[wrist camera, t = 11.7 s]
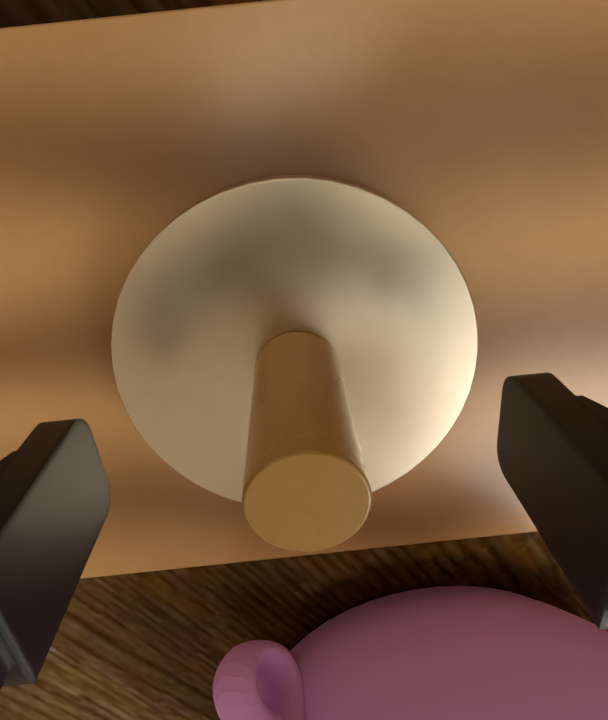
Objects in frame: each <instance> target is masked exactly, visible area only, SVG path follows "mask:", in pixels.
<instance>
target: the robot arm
mask: <svg viewBox="0 0 608 720" xmlns="http://www.w3.org/2000/svg"><path fill="white" fill-rule="evenodd" d="M497 455H498V461H499V465H500V468H501V471H502V473H503V475H504V477H505V479H506V480H507V482H508V484H509V485H510V487H511V488H512V490H513V492H514V493H515V495H516V496H517V498H518V500H519V501H520V503H521V504H522V506H523V508H524V509H525V511H526V513H527V514H528V516H529V517H530V519H531V521H532V522H533V524H534V525H535V527H536V529H537V530H538V532H539V534H540V535H541V537H542V538H543V540H544V542H545V543H546V545H547V546H548V548H549V550H550V551H551V553H552V555H553V556H554V558H555V559H556V561H557V563H558V564H559V566H560V567H561V569H562V571H563V572H564V574H565V575H566V577H567V579H568V580H569V582H570V584H571V585H572V587H573V588H574V590H575V592H576V593H577V595H578V596H579V598H580V600H581V601H582V603H583V605H584V606H585V608H586V609H587V611H588V613H589V614H590V616H591V617H592V619H593V621H594V622H595V624H596V626H597V627H598V629H599V630H600V629H608V408H607V407H605V406H603V405H601V404H599V403H597V402H595V401H593V400H591V399H589V398H587V397H585V396H583V395H579V396H575V395H574V394H573V393H572V392H571V391H570V390H569V389H568V388H567V387H566V386H565V385H564V384H563V383H562V382H561V381H560V380H559V379H558V378H556V377H555V376H554V375H553V374H552V373H548V372H546V373H536V374H526V375H516V376H509V377H507V378H506V379H505V381H504V383H503V388H502V397H501V407H500V417H499V427H498V437H497ZM109 507H110V486H109V481H108V478H107V475H106V472H105V469H104V466H103V463H102V461H101V458H100V455H99V452H98V449H97V446H96V443H95V440H94V437H93V434H92V431H91V428H90V426H89V424H88V423H87V422H86V421H85V420H84V419H70V420H60V421H50V422H42V423H39V424H38V425H37V426H36V427H35V428H34V429H33V431H32V432H31V433H30V435H29V436H28V437H27V438H26V440H25V441H24V442H23V443H22V445H21V446H20V447H19V448H18V450H17V451H13V452H11V453H10V454H8V455H7V456H6V457H4V458H3V459H2V460H0V689H1V687H2V686H11V685H21V684H31V683H35V681H36V679H37V677H38V674H39V672H40V670H41V667H42V665H43V663H44V660H45V658H46V656H47V653H48V651H49V649H50V647H51V644H52V642H53V640H54V637H55V635H56V633H57V630H58V628H59V626H60V623H61V621H62V619H63V617H64V614H65V612H66V610H67V607H68V605H69V603H70V600H71V598H72V596H73V593H74V591H75V589H76V587H77V584H78V582H79V580H80V577H81V575H82V573H83V570H84V568H85V566H86V563H87V561H88V559H89V557H90V554H91V552H92V550H93V547H94V545H95V543H96V540H97V538H98V536H99V533H100V531H101V529H102V527H103V524H104V522H105V520H106V517H107V515H108V512H109Z"/></svg>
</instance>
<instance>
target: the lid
mask: <svg viewBox="0 0 608 720" xmlns="http://www.w3.org/2000/svg"><path fill="white" fill-rule="evenodd" d="M111 353H112V367H113V371H114V376H115V381H116V385H117V389H118V392H119V394H120V397H121V400H122V402H123V405H124V408H125V410H126V412H127V414H128V415H129V417H130V419H131V421H132V423H133V425H134V427H135V428H136V429H137V431H138V432H139V434H140V435H141V436H142V438H143V439H144V440H145V442H146V443H147V444H148V446H149V447H150V448H151V449H152V450H153V451H154V452H155V453H156V454H157V455H158V456H159V457H160V458H161V459H162V460H163V461H164V462H165V463H166V464H168V465H169V466H170V467H171V468H172V469H174V470H175V471H176V472H177V473H179V474H180V475H182V476H183V477H185V478H186V479H188V480H190V481H191V482H193V483H194V484H196V485H198V486H200V487H202V488H204V489H206V490H208V491H210V492H212V493H214V494H217V495H220V496H222V497H225V498H228V499H230V500H233V501H237V502H241V503H242V510H243V513H244V516H245V518H246V521H247V523H248V524H249V526H250V527H251V529H252V530H253V531H254V532H255V533H256V534H257V535H258V536H259V537H260V538H261V539H263V540H264V541H266V542H268V543H269V544H271V545H274V546H276V547H279V548H282V549H286V550H290V551H297V552H311V551H319V550H323V549H327V548H330V547H333V546H336V545H338V544H340V543H342V542H344V541H346V540H347V539H349V538H350V537H351V536H353V535H354V534H355V533H356V532H357V531H358V530H359V529H360V528H361V527H362V525H363V524H364V522H365V521H366V519H367V517H368V514H369V512H370V509H371V504H372V493H373V492H375V491H377V490H379V489H381V488H383V487H385V486H387V485H389V484H391V483H392V482H394V481H396V480H397V479H399V478H400V477H402V476H403V475H405V474H406V473H408V472H409V471H410V470H412V469H413V468H414V467H415V466H417V465H418V464H419V463H420V462H422V461H423V460H424V459H425V458H426V457H427V456H428V455H429V454H430V453H431V452H432V451H433V450H434V449H435V448H436V447H437V446H438V445H439V443H440V442H441V441H442V440H443V438H444V437H445V436H446V434H447V433H448V432H449V430H450V429H451V428H452V426H453V424H454V423H455V421H456V419H457V417H458V416H459V414H460V412H461V411H462V408H463V406H464V404H465V401H466V399H467V397H468V394H469V392H470V388H471V385H472V381H473V378H474V374H475V369H476V362H477V354H478V326H477V319H476V313H475V307H474V303H473V300H472V297H471V294H470V290H469V287H468V284H467V282H466V280H465V278H464V276H463V274H462V272H461V270H460V268H459V266H458V264H457V262H456V261H455V259H454V258H453V257H452V255H451V254H450V252H449V251H448V249H447V248H446V246H445V245H444V244H443V243H442V241H441V240H440V239H439V238H438V237H437V236H436V235H435V234H434V233H433V232H432V231H431V230H430V229H429V227H428V226H427V225H425V224H424V223H423V222H422V221H420V220H419V219H418V218H417V217H415V216H414V215H413V214H411V213H410V212H409V211H408V210H406V209H405V208H404V207H402V206H400V205H399V204H397V203H395V202H394V201H392V200H390V199H388V198H387V197H385V196H383V195H382V194H380V193H377V192H375V191H372V190H370V189H368V188H365V187H363V186H360V185H358V184H355V183H351V182H347V181H343V180H339V179H335V178H331V177H322V176H312V175H276V176H270V177H265V178H259V179H253V180H249V181H245V182H242V183H239V184H236V185H233V186H230V187H227V188H224V189H222V190H220V191H218V192H216V193H214V194H212V195H210V196H208V197H206V198H203V199H201V200H200V201H198V202H197V203H195V204H194V205H192V206H191V207H189V208H188V209H186V210H185V211H183V212H182V213H180V214H179V215H178V216H177V217H176V218H175V219H173V220H172V221H171V222H170V223H169V224H168V225H167V226H166V227H165V228H164V229H163V230H162V231H160V232H159V233H158V234H157V235H156V236H155V237H154V239H153V240H152V241H151V242H150V243H149V245H148V246H147V247H146V248H145V250H144V251H143V252H142V253H141V255H140V256H139V257H138V259H137V261H136V263H135V264H134V266H133V268H132V269H131V271H130V273H129V274H128V276H127V278H126V281H125V283H124V286H123V288H122V291H121V293H120V296H119V298H118V301H117V306H116V310H115V314H114V319H113V324H112V337H111Z"/></svg>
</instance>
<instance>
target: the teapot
mask: <svg viewBox="0 0 608 720" xmlns="http://www.w3.org/2000/svg"><path fill="white" fill-rule="evenodd" d="M213 700H214V704H215V708H216V712H217V714H218V716H219V718H220V720H608V632H607V631H606V630H604V629H600V630H599V629H598V627H597V626H596V624H593V623H591V622H589V621H587V620H585V619H583V618H580V617H578V616H576V615H573V614H571V613H569V612H566V611H564V610H562V609H559V608H557V607H554V606H552V605H549V604H547V603H544V602H541V601H538V600H534V599H531V598H529V597H526V596H523V595H519V594H516V593H512V592H509V591H505V590H499V589H493V588H487V587H474V586H438V587H430V588H422V589H414V590H410V591H405V592H400V593H395V594H391V595H388V596H385V597H381V598H378V599H375V600H372V601H369V602H366V603H364V604H361V605H359V606H356V607H354V608H352V609H349V610H347V611H345V612H343V613H341V614H340V615H338V616H336V617H334V618H332V619H330V620H328V621H327V622H325V623H324V624H322V625H321V626H319V627H318V628H317V629H315V630H314V631H312V632H311V633H309V634H308V635H307V636H306V637H305V638H304V639H303V640H301V641H300V642H299V643H298V644H297V645H296V646H295V647H294V648H293V649H292V650H291V651H289V650H288V649H287V648H286V647H284V646H282V645H281V644H279V643H276V642H274V641H270V640H252V641H247V642H244V643H241V644H239V645H236V646H234V647H233V648H232V649H231V650H230V651H229V652H228V653H227V654H226V656H225V657H224V658H223V660H222V661H221V663H220V664H219V666H218V668H217V671H216V674H215V677H214V680H213Z"/></svg>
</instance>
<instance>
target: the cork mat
mask: <svg viewBox="0 0 608 720" xmlns="http://www.w3.org/2000/svg"><path fill="white" fill-rule="evenodd" d="M276 175H312V176H322V177H331V178H335V179H339V180H343V181H347V182H351V183H355V184H358V185H360V186H363V187H365V188H368V189H370V190H372V191H375V192H377V193H380V194H382V195H383V196H385V197H387V198H388V199H390V200H392V201H394V202H395V203H397V204H399V205H400V206H402V207H404V208H405V209H406V210H408V211H409V212H410V213H411V214H413V215H414V216H415V217H417V218H418V219H419V220H420V221H422V222H423V223H424V224H425V225H427V226H428V227H429V229H430V230H431V231H432V232H433V233H434V234H435V235H436V236H437V237H438V238H439V239H440V240H441V241H442V243H443V244H444V245H445V246H446V248H447V249H448V251H449V252H450V254H451V255H452V257H453V258H454V259H455V261H456V262H457V264H458V266H459V268H460V270H461V272H462V274H463V276H464V278H465V280H466V282H467V284H468V287H469V290H470V294H471V297H472V300H473V303H474V307H475V313H476V319H477V326H478V354H477V362H476V369H475V374H474V378H473V381H472V385H471V388H470V392H469V394H468V397H467V399H466V401H465V404H464V406H463V408H462V411H461V412H460V414H459V416H458V417H457V419H456V421H455V423H454V424H453V426H452V428H451V429H450V430H449V432H448V433H447V434H446V436H445V437H444V438H443V440H442V441H441V442H440V443H439V445H438V446H437V447H436V448H435V449H434V450H433V451H432V452H431V453H430V454H429V455H428V456H427V457H426V458H425V459H424V460H423V461H422V462H420V463H419V464H418V465H417V466H415V467H414V468H413V469H412V470H410V471H409V472H408V473H406V474H405V475H403V476H402V477H400V478H399V479H397V480H396V481H394V482H392V483H391V484H389V485H387V486H385V487H383V488H381V489H379V490H377V491H375V492H373V493H372V504H371V509H370V512H369V514H368V517H367V519H366V521H365V522H364V524H363V525H362V527H361V528H360V529H359V530H358V531H357V532H356V533H355V534H354V535H353V536H351V537H350V538H349V539H347V540H346V541H344V542H342V543H340V544H338V545H336V546H333V547H330V548H327V549H323V550H319V551H311V552H297V551H290V550H286V549H282V548H279V547H276V546H274V545H271V544H269V543H268V542H266V541H264V540H263V539H261V538H260V537H259V536H258V535H257V534H256V533H255V532H254V531H253V530H252V529H251V527H250V526H249V524H248V523H247V521H246V518H245V516H244V513H243V510H242V503H241V502H237V501H233V500H230V499H228V498H225V497H222V496H220V495H217V494H214V493H212V492H210V491H208V490H206V489H204V488H202V487H200V486H198V485H196V484H194V483H193V482H191V481H190V480H188V479H186V478H185V477H183V476H182V475H180V474H179V473H177V472H176V471H175V470H174V469H172V468H171V467H170V466H169V465H168V464H166V463H165V462H164V461H163V460H162V459H161V458H160V457H159V456H158V455H157V454H156V453H155V452H154V451H153V450H152V449H151V448H150V447H149V446H148V444H147V443H146V442H145V440H144V439H143V438H142V436H141V435H140V434H139V432H138V431H137V429H136V428H135V427H134V425H133V423H132V421H131V419H130V417H129V415H128V414H127V412H126V410H125V408H124V405H123V402H122V400H121V397H120V394H119V392H118V389H117V385H116V381H115V376H114V371H113V367H112V353H111V337H112V324H113V319H114V314H115V310H116V306H117V301H118V298H119V296H120V293H121V291H122V288H123V286H124V283H125V281H126V278H127V276H128V274H129V273H130V271H131V269H132V268H133V266H134V264H135V263H136V261H137V259H138V257H139V256H140V255H141V253H142V252H143V251H144V250H145V248H146V247H147V246H148V245H149V243H150V242H151V241H152V240H153V239H154V237H155V236H156V235H157V234H158V233H159V232H160V231H162V230H163V229H164V228H165V227H166V226H167V225H168V224H169V223H170V222H171V221H172V220H173V219H175V218H176V217H177V216H178V215H179V214H180V213H182V212H183V211H185V210H186V209H188V208H189V207H191V206H192V205H194V204H195V203H197V202H198V201H200V200H201V199H203V198H206V197H208V196H210V195H212V194H214V193H216V192H218V191H220V190H222V189H224V188H227V187H230V186H233V185H236V184H239V183H242V182H245V181H249V180H253V179H259V178H265V177H270V176H276ZM546 372H548V373H552V374H553V375H554V376H555V377H556V378H558V379H559V380H560V381H561V382H562V383H563V384H564V385H565V386H566V387H567V388H568V389H569V390H570V391H571V392H572V393H573V394H574V395H575V396H579V395H583V396H585V397H587V398H589V399H591V400H593V401H595V402H597V403H599V404H601V405H603V406H605V407H607V408H608V0H265V1H255V2H245V3H236V4H226V5H217V6H207V7H197V8H188V9H178V10H169V11H159V12H149V13H140V14H130V15H121V16H111V17H101V18H92V19H82V20H73V21H63V22H53V23H44V24H34V25H25V26H15V27H5V28H0V460H2V459H3V458H4V457H6V456H7V455H8V454H10V453H11V452H13V451H17V450H18V448H19V447H20V446H21V445H22V443H23V442H24V441H25V440H26V438H27V437H28V436H29V435H30V433H31V432H32V431H33V429H34V428H35V427H36V426H37V425H38V424H39V423H42V422H50V421H60V420H70V419H84V420H85V421H86V422H87V423H88V424H89V426H90V428H91V431H92V434H93V437H94V440H95V443H96V446H97V449H98V452H99V455H100V458H101V461H102V463H103V466H104V469H105V472H106V475H107V478H108V481H109V486H110V507H109V512H108V515H107V517H106V520H105V522H104V524H103V527H102V529H101V531H100V533H99V536H98V538H97V540H96V543H95V545H94V547H93V550H92V552H91V554H90V557H89V559H88V561H87V563H86V566H85V568H84V570H83V573H82V575H81V577H80V579H82V578H92V577H102V576H111V575H121V574H131V573H140V572H150V571H159V570H169V569H179V568H188V567H198V566H208V565H217V564H227V563H237V562H246V561H256V560H266V559H275V558H285V557H295V556H304V555H314V554H324V553H333V552H343V551H353V550H362V549H372V548H382V547H391V546H401V545H411V544H420V543H430V542H440V541H449V540H459V539H469V538H478V537H488V536H498V535H507V534H517V533H526V532H536V531H538V530H537V529H536V527H535V525H534V524H533V522H532V521H531V519H530V517H529V516H528V514H527V513H526V511H525V509H524V508H523V506H522V504H521V503H520V501H519V500H518V498H517V496H516V495H515V493H514V492H513V490H512V488H511V487H510V485H509V484H508V482H507V480H506V479H505V477H504V475H503V473H502V471H501V468H500V465H499V461H498V455H497V437H498V427H499V417H500V407H501V397H502V388H503V383H504V381H505V379H506V378H507V377H509V376H516V375H526V374H536V373H546Z"/></svg>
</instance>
